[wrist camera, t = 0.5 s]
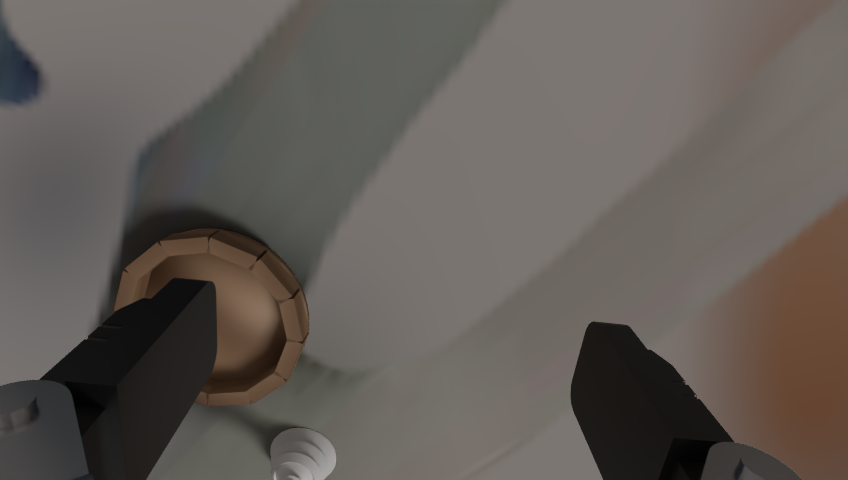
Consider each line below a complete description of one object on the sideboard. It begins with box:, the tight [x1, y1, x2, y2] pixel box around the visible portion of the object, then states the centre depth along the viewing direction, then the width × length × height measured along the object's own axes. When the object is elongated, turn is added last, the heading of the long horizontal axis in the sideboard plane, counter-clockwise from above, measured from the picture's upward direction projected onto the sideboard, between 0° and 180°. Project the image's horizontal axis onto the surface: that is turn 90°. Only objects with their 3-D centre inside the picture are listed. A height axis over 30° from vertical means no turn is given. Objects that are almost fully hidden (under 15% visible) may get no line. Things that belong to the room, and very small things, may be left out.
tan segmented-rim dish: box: [114, 228, 309, 407], centre depth 34 cm, size 12×12×2 cm
